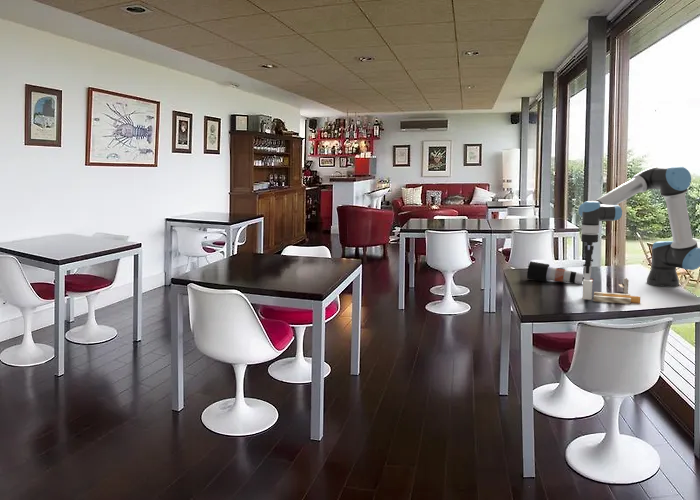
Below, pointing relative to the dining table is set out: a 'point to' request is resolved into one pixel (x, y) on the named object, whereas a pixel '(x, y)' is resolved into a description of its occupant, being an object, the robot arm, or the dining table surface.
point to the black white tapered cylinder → (552, 274)
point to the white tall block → (587, 289)
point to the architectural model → (624, 286)
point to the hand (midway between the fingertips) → (587, 277)
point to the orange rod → (633, 298)
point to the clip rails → (611, 298)
